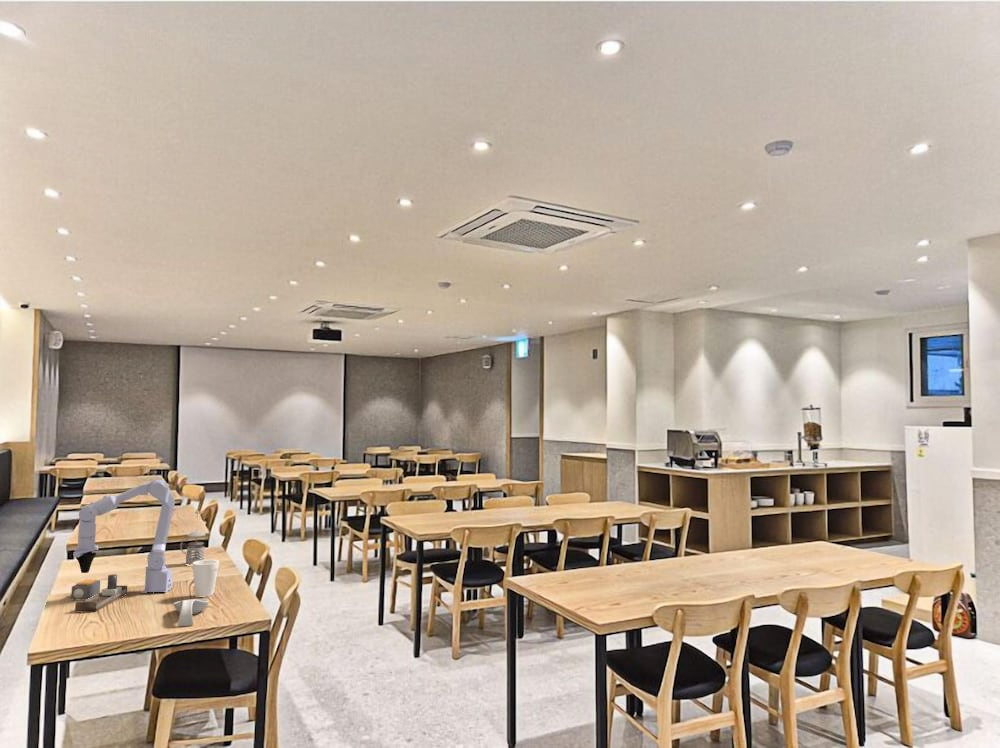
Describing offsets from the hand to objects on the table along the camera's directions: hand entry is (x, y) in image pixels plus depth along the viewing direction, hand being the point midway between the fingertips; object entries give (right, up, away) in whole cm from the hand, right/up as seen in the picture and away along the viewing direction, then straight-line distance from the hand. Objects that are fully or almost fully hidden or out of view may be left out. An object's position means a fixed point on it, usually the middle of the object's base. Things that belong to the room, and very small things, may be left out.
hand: (85, 572), depth 260 cm
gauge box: (0, -10, +1) cm, 10 cm away
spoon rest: (+51, -9, -23) cm, 56 cm away
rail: (+11, -9, -7) cm, 16 cm away
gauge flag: (0, -4, +1) cm, 5 cm away
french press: (+14, -14, +60) cm, 63 cm away
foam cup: (+44, -11, +5) cm, 45 cm away
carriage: (+10, -8, 0) cm, 13 cm away
